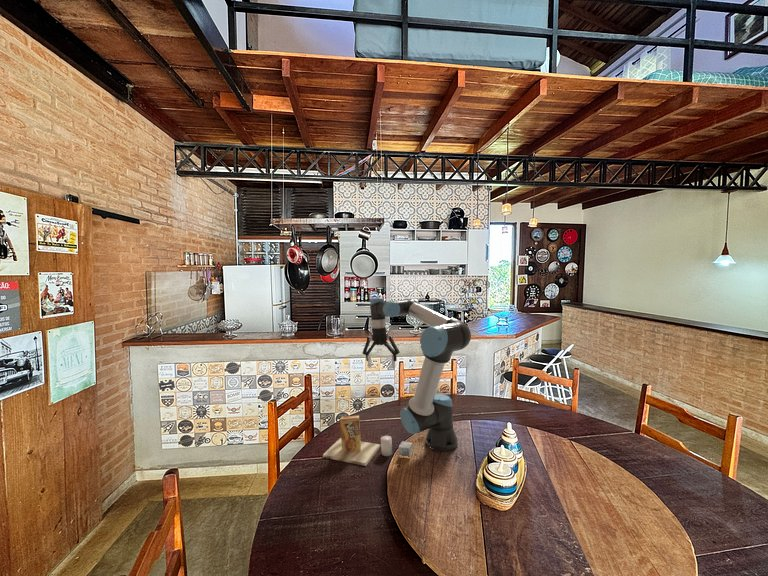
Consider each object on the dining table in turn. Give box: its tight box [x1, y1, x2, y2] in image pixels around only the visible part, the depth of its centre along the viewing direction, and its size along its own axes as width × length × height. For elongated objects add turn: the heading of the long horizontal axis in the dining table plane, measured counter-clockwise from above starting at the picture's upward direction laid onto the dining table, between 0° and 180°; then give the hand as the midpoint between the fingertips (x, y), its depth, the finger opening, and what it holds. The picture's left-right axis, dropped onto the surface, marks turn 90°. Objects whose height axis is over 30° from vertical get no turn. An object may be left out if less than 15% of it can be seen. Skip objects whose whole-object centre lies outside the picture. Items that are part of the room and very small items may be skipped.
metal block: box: [398, 440, 414, 457], centre depth 147 cm, size 5×5×5 cm
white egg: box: [380, 435, 393, 457], centre depth 149 cm, size 5×5×7 cm
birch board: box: [322, 437, 381, 467], centre depth 152 cm, size 22×16×1 cm
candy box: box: [339, 415, 362, 452], centre depth 152 cm, size 9×4×15 cm, turn 94°
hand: (381, 367), depth 171 cm, fingers open, 13 cm apart
